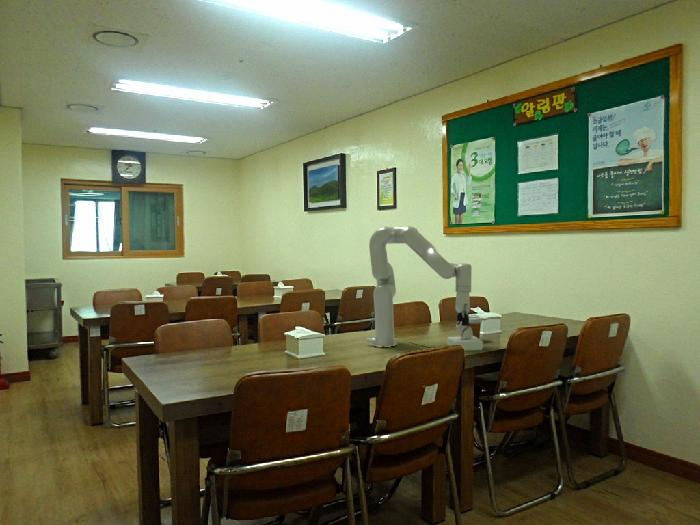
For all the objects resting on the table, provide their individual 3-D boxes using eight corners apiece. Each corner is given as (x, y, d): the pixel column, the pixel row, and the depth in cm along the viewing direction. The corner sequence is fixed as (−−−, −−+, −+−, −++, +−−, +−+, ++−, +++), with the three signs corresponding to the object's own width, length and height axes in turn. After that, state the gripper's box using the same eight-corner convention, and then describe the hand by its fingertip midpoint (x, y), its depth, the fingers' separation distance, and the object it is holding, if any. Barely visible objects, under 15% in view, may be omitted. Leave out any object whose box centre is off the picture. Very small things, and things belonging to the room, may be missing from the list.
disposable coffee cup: (484, 342, 270) (483, 319, 270) (465, 343, 271) (464, 319, 270) (480, 339, 280) (479, 316, 279) (461, 339, 280) (461, 317, 280)
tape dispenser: (465, 341, 263) (451, 326, 263) (475, 332, 262) (461, 317, 262) (466, 343, 257) (452, 328, 257) (476, 334, 256) (462, 319, 257)
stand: (453, 350, 253) (453, 341, 253) (447, 345, 267) (447, 336, 267) (483, 349, 253) (482, 341, 253) (475, 344, 267) (474, 335, 267)
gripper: (451, 287, 267) (451, 321, 268) (459, 290, 250) (459, 326, 251) (466, 287, 268) (465, 321, 269) (475, 290, 250) (475, 326, 251)
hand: (462, 323), depth 260 cm, fingers open, 9 cm apart
